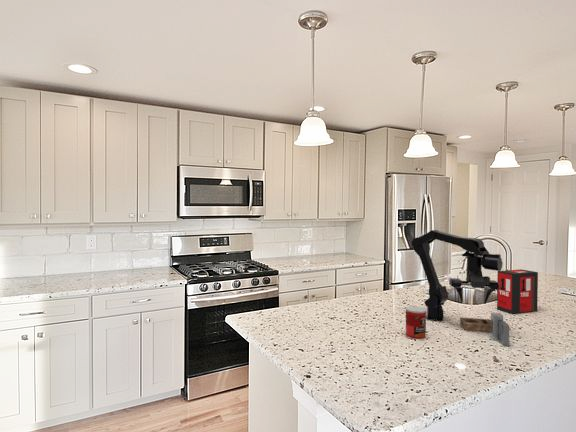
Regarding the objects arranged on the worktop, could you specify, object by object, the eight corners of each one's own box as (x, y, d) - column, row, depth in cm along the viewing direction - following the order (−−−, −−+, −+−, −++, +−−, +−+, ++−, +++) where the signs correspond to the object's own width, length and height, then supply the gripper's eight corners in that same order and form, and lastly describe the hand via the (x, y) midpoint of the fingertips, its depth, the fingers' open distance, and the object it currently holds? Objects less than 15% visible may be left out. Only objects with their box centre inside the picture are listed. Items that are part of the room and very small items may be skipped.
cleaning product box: (512, 314, 177) (513, 274, 176) (497, 309, 185) (497, 271, 185) (537, 311, 182) (537, 272, 182) (520, 307, 191) (521, 269, 190)
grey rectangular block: (503, 346, 136) (503, 325, 136) (498, 341, 141) (498, 320, 141) (509, 346, 136) (509, 325, 136) (504, 341, 141) (504, 321, 141)
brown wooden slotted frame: (464, 330, 153) (464, 323, 153) (460, 324, 162) (460, 317, 162) (496, 333, 150) (496, 325, 150) (489, 326, 159) (489, 319, 159)
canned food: (416, 340, 142) (416, 312, 142) (401, 334, 149) (401, 307, 149) (430, 337, 145) (430, 310, 145) (414, 331, 153) (415, 305, 152)
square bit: (493, 340, 142) (493, 314, 142) (490, 337, 146) (490, 312, 146) (502, 340, 142) (503, 315, 141) (499, 337, 145) (500, 313, 145)
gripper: (455, 269, 150) (454, 306, 151) (504, 272, 146) (503, 310, 147) (449, 265, 161) (448, 299, 162) (495, 267, 157) (494, 303, 158)
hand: (473, 303), depth 157 cm, fingers open, 9 cm apart
